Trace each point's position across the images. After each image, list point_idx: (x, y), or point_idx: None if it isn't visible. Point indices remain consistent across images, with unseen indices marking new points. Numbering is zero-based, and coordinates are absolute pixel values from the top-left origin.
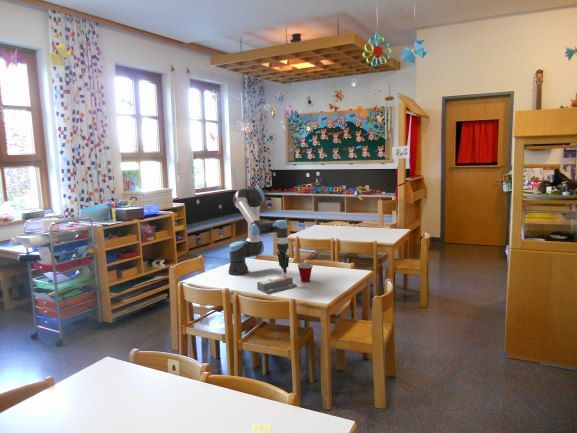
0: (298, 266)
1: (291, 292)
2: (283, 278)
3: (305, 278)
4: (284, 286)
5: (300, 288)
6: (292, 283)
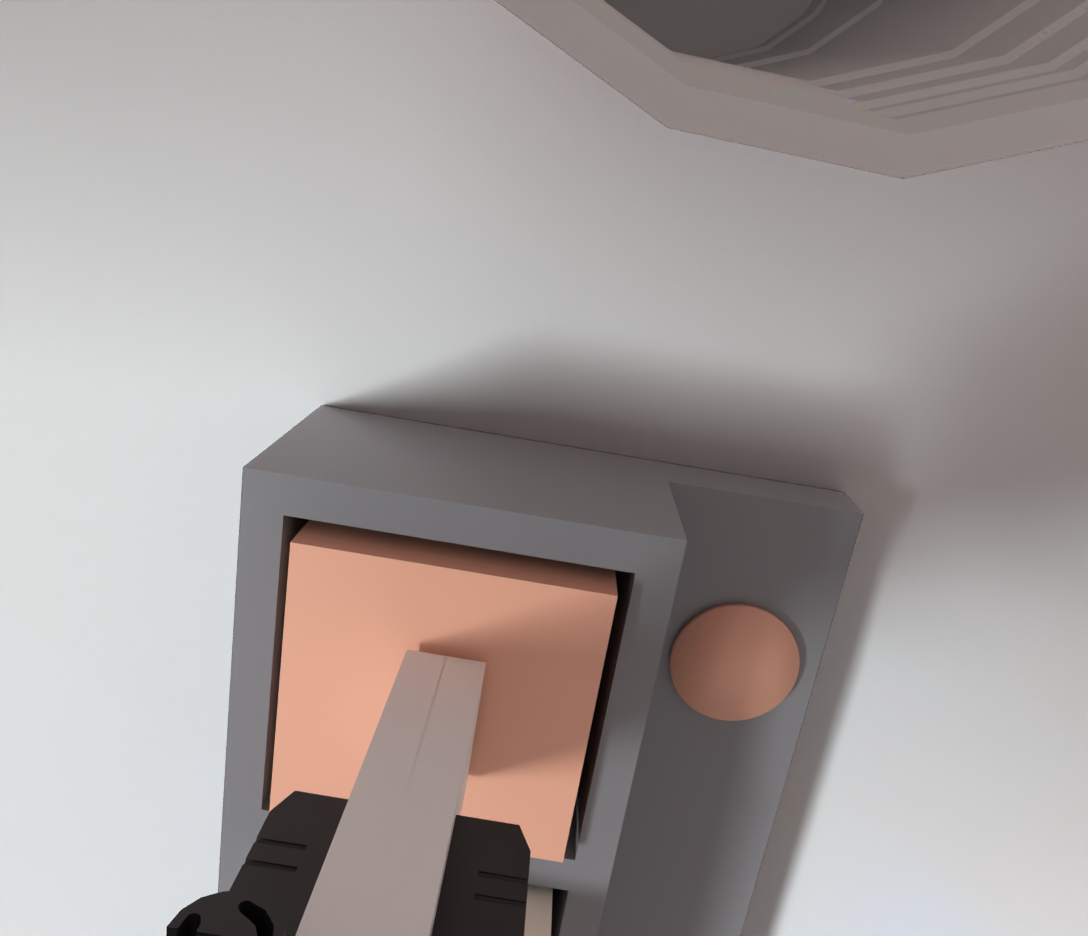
0: (745, 141)
1: (1029, 854)
2: (519, 808)
3: (876, 4)
4: (699, 811)
5: (1033, 528)
6: (684, 513)
